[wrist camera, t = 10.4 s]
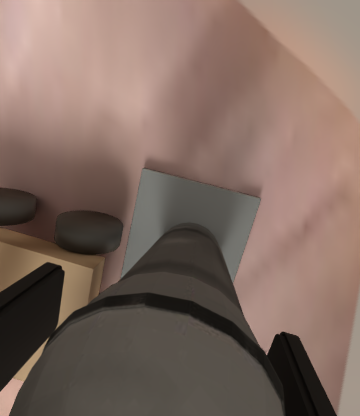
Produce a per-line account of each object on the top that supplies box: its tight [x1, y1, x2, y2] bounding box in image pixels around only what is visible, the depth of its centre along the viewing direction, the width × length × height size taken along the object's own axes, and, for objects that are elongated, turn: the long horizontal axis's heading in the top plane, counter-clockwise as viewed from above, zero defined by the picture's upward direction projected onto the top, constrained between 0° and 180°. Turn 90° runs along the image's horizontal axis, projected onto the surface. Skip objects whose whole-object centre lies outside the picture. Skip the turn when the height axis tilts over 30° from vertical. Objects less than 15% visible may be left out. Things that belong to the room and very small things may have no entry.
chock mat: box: [121, 168, 261, 283], centre depth 18 cm, size 9×10×1 cm
